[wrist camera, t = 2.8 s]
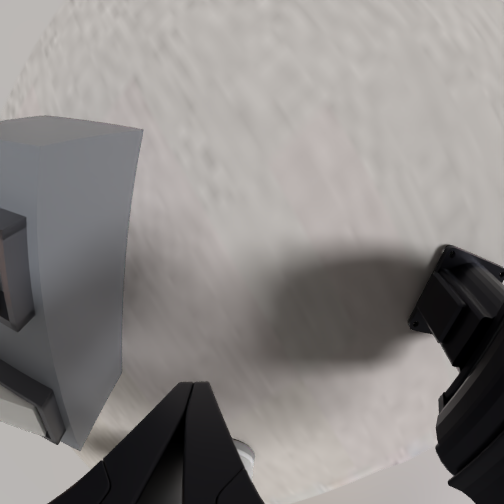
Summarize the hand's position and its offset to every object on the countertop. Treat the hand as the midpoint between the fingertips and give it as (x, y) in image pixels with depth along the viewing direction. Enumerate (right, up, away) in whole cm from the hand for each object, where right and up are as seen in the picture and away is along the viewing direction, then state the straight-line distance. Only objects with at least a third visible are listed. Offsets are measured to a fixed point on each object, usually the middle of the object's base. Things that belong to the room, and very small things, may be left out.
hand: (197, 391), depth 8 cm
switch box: (-11, +3, +12) cm, 17 cm away
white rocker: (-13, -5, +5) cm, 15 cm away
